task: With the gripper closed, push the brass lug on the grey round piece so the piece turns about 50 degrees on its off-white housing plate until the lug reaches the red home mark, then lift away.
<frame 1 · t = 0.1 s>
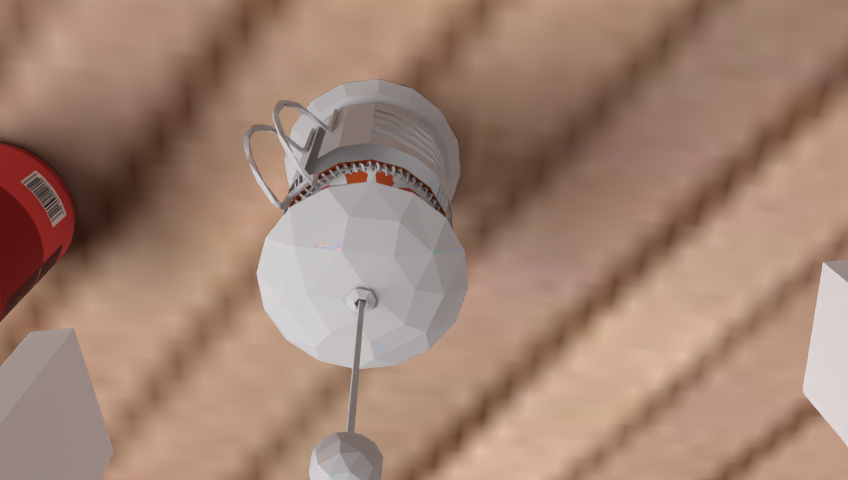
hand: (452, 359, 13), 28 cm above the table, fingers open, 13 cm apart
canned food: (9, 202, 41), on the table
french press: (362, 154, 41), on the table
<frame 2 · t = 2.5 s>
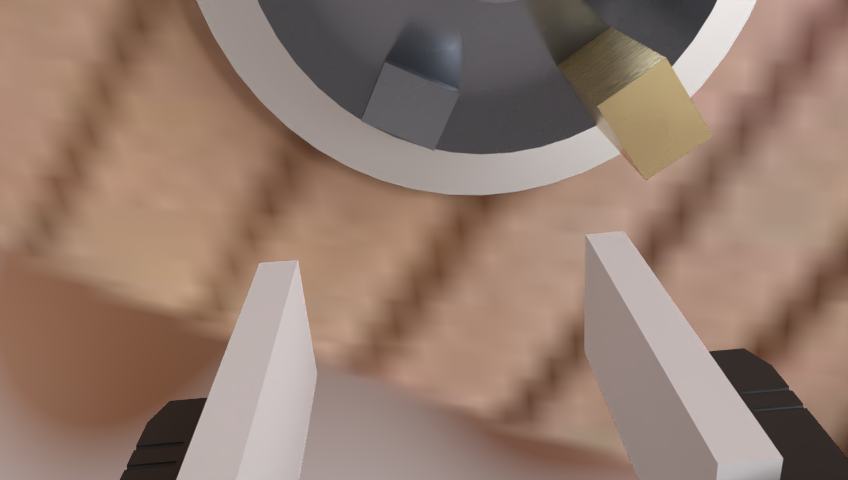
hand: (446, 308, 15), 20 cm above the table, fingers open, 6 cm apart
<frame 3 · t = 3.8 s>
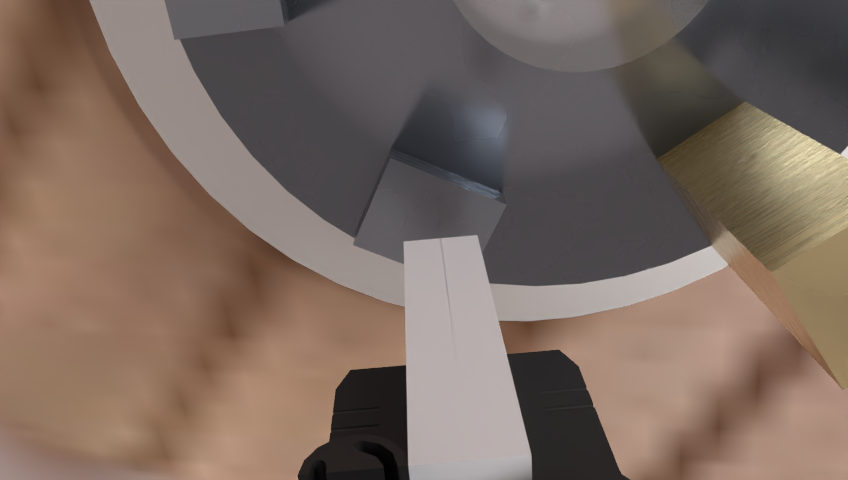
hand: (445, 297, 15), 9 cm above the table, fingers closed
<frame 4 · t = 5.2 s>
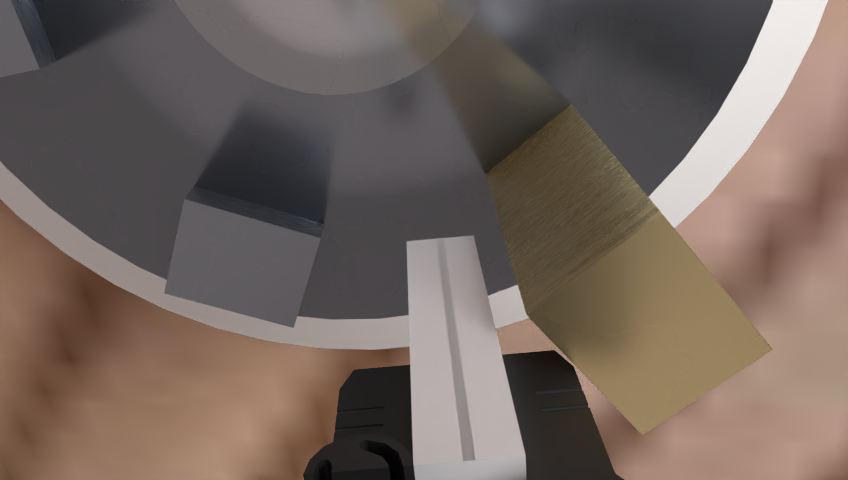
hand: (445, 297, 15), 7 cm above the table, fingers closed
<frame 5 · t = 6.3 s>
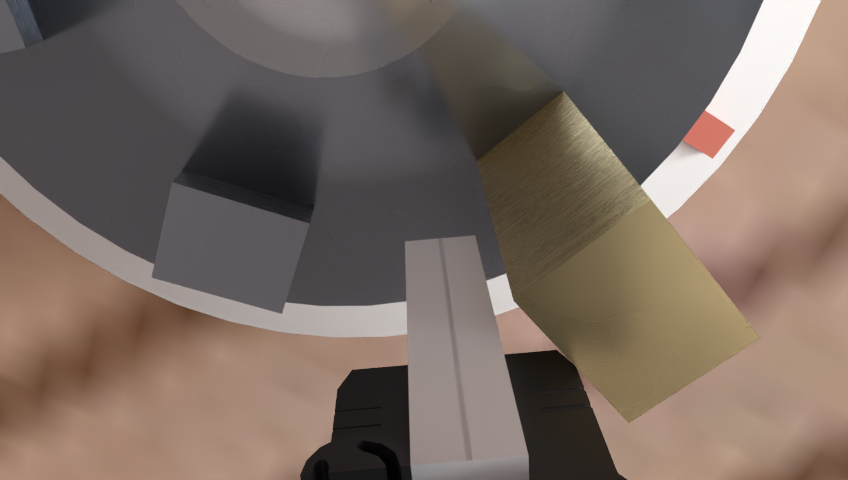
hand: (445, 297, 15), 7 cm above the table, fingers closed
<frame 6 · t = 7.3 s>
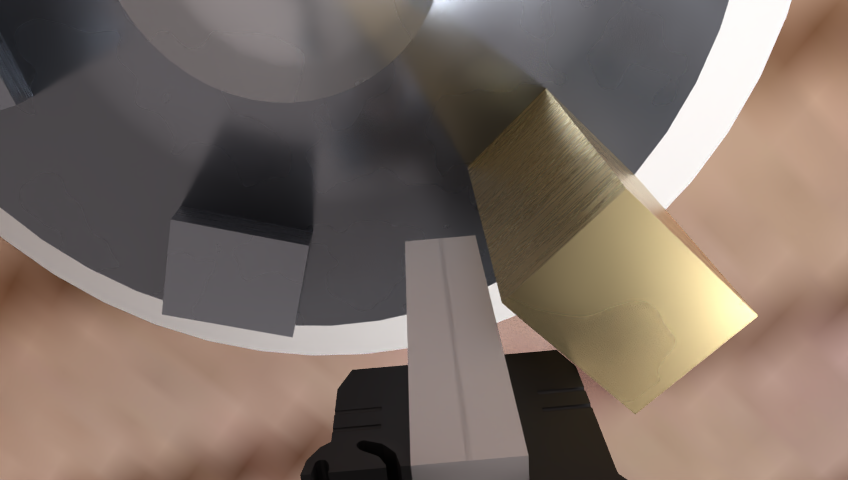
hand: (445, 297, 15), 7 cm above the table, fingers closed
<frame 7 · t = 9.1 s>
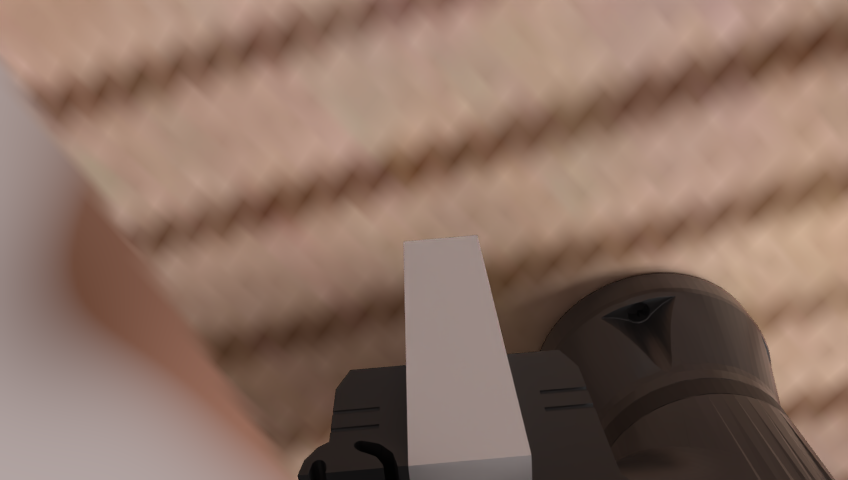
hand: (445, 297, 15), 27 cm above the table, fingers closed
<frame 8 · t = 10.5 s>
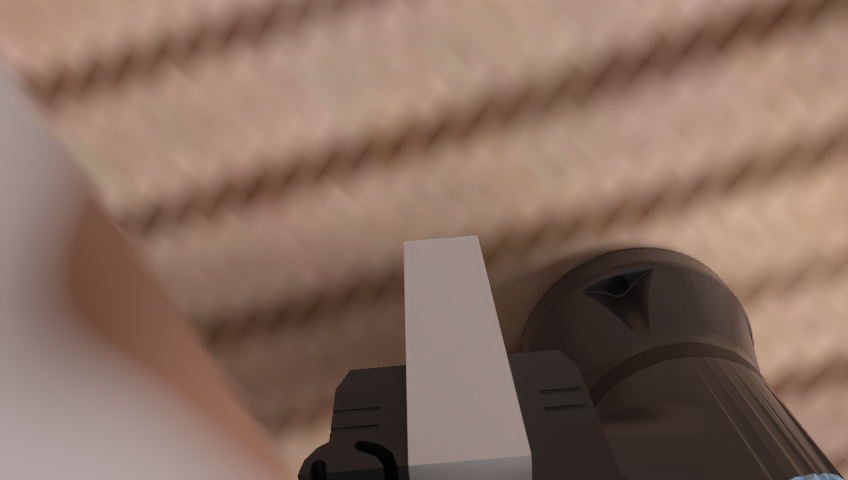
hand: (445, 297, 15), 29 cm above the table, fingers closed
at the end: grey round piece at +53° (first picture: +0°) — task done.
